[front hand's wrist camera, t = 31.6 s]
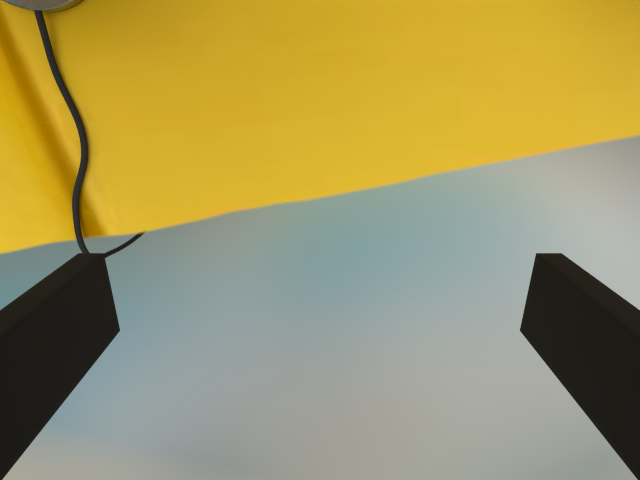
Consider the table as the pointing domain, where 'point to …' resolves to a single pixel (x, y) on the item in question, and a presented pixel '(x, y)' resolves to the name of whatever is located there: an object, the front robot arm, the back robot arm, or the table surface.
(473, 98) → the table surface
